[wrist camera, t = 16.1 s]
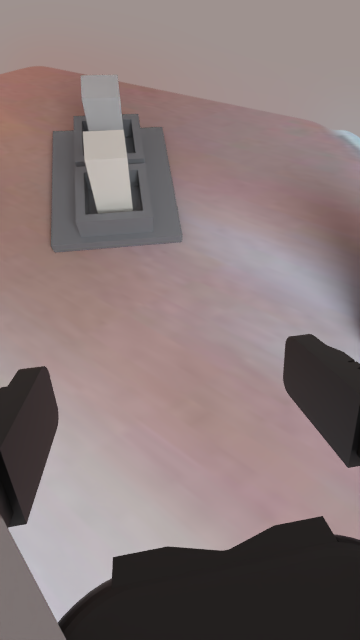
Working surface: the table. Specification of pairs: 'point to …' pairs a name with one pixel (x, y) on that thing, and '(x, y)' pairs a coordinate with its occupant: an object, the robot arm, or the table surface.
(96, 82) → the housing
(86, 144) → the tall white pillar
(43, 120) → the table surface
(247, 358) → the table surface
